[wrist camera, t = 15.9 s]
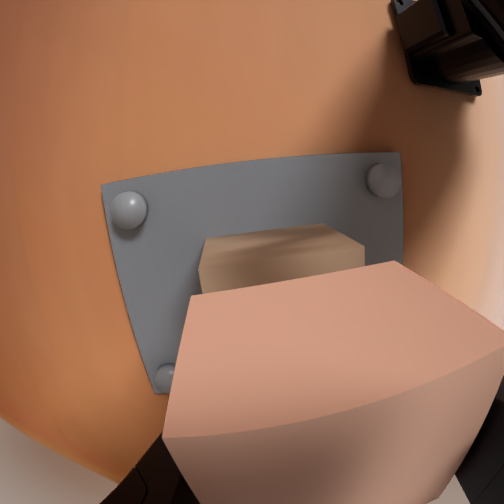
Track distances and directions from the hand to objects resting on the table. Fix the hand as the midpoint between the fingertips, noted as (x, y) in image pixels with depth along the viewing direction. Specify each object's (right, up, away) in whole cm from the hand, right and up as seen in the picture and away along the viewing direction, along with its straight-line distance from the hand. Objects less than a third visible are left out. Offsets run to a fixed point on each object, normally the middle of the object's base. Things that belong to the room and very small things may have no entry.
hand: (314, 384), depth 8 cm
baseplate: (-1, +2, +9) cm, 9 cm away
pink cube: (0, 0, +1) cm, 1 cm away
